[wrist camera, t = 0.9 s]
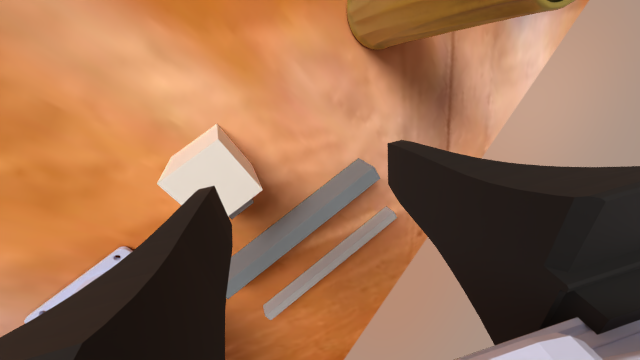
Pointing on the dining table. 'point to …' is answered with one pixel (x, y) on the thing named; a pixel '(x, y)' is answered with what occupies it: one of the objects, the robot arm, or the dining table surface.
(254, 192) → the cabinet block
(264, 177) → the dining table surface
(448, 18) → the vase
